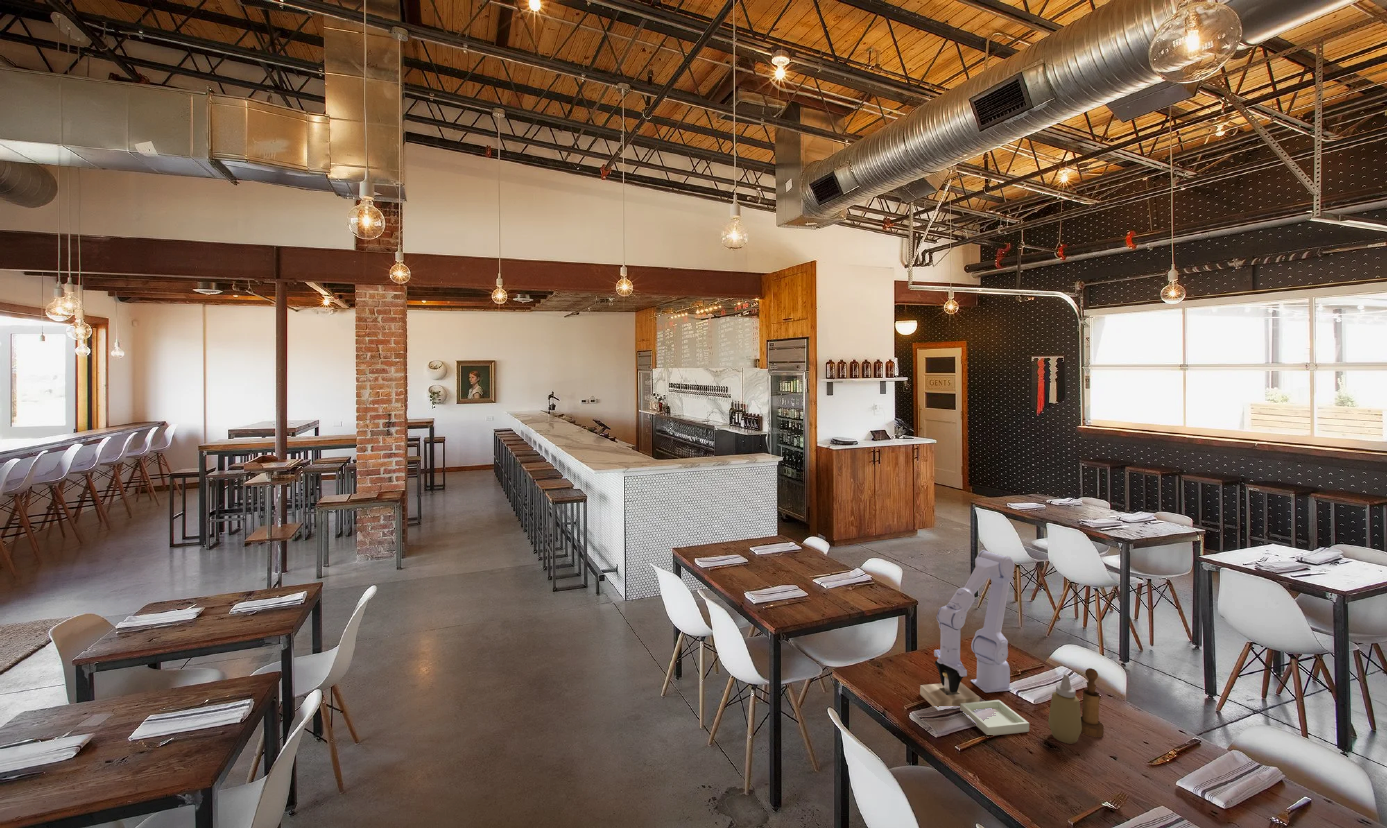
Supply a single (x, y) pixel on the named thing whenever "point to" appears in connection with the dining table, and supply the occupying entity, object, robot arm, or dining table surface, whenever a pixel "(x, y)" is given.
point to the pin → (946, 684)
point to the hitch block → (939, 698)
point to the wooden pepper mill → (1091, 707)
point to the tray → (996, 718)
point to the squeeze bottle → (1065, 713)
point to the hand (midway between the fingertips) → (949, 688)
